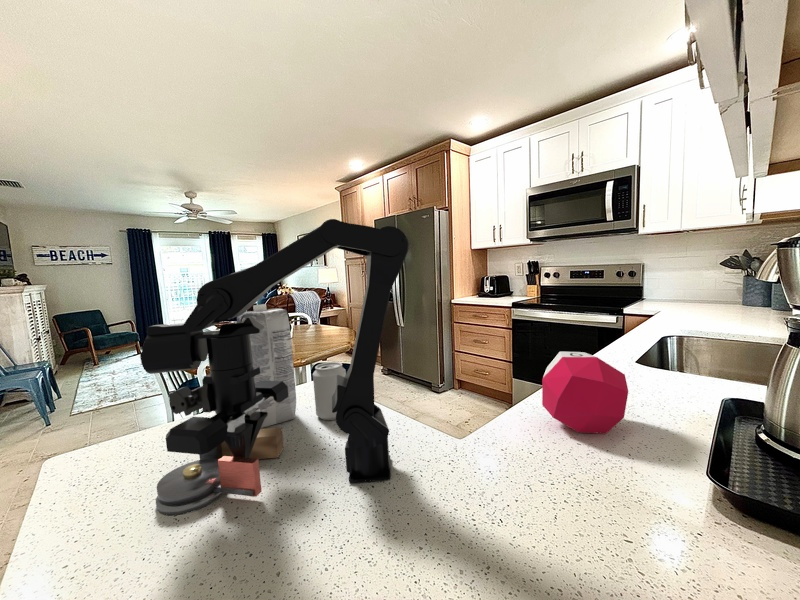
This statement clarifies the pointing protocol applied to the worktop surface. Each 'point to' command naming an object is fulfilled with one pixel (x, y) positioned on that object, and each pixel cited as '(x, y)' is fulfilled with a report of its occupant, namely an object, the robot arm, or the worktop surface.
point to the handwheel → (210, 480)
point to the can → (326, 387)
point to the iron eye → (212, 453)
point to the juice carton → (273, 360)
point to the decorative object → (584, 392)
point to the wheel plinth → (187, 505)
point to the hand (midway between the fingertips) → (242, 464)
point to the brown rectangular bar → (262, 444)
